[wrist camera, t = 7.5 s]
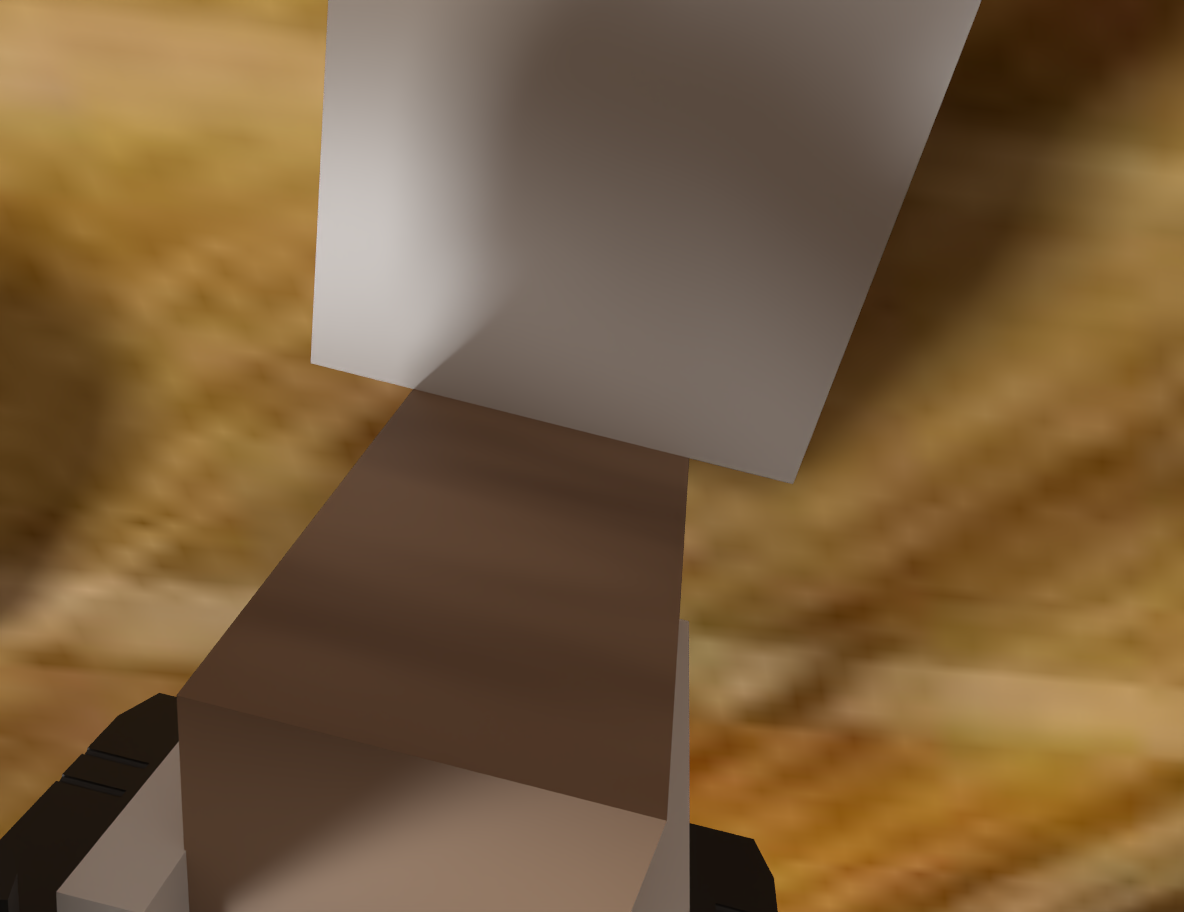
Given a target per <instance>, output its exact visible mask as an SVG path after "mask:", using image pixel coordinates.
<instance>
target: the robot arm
mask: <svg viewBox="0 0 1184 912" xmlns="http://www.w3.org/2000/svg"><path fill="white" fill-rule="evenodd" d="M0 912H189V897H188V879H187V861H186V851H185V850H184V838H183V817H182V796H181V776H180V755H179V734H178V713H177V697H174V696H170V695H166V694H162V693H158V694H157V695H155V696H153V697H151V698H149V699H148V700H146V701H144V702H142V703H140V704H139V705H137V706H135V707H133V708H131V709H129V710H128V711H126V712H124V713H122V714H120V715H119V716H117V717H116V718H115V719H114V721H113V722H112V723H111V724H110V725H109V726H108V727H107V728H106V729H105V730H104V731H103V732H102V733H101V734H100V735H99V736H98V737H97V738H96V739H95V741H94V742H93V743H92V744H91V745H90V746H89V747H88V749H87V752H86V753H85V755H84V754H81V755H80V756H79V757H78V758H77V759H76V761H75V762H74V763H73V764H72V765H71V766H70V767H69V768H68V769H67V770H66V771H65V772H64V773H63V774H62V778H61V780H60V781H59V782H58V781H56V782H55V783H54V784H53V785H52V786H51V787H50V788H49V789H48V790H47V791H46V792H45V793H44V794H43V795H42V796H41V797H40V798H39V799H38V801H37V802H36V803H35V804H34V805H33V806H32V807H31V808H30V809H29V810H28V811H27V812H26V813H25V814H24V815H23V816H22V817H21V818H20V819H19V821H18V822H17V823H16V824H15V825H14V826H13V827H12V828H11V829H10V830H9V831H8V832H7V833H6V834H5V835H4V836H3V837H2V838H1V839H0ZM631 912H778V911H777V902H776V893H775V884H774V877H773V876H772V874H771V872H770V870H769V868H768V866H767V864H766V862H765V860H764V858H763V856H762V854H761V853H760V851H759V849H758V847H757V845H756V843H755V841H754V839H751V838H747V837H743V836H739V835H735V834H731V833H727V832H723V831H719V830H715V829H711V828H707V827H703V826H699V825H695V824H691V823H689V621H686V620H682V619H679V631H678V648H677V664H676V680H675V697H674V713H673V729H672V746H671V762H670V778H669V795H668V811H667V822H666V824H665V827H664V829H663V832H662V835H661V837H660V840H659V842H658V845H657V847H656V850H655V852H654V855H653V857H652V860H651V862H650V865H649V868H648V870H647V873H646V875H645V878H644V880H643V883H642V885H641V888H640V890H639V893H638V895H637V898H636V900H635V903H634V906H633V908H632V911H631Z"/></svg>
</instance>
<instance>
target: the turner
mask: <svg viewBox="0 0 1184 912" xmlns="http://www.w3.org/2000/svg"><path fill="white" fill-rule="evenodd" d="M980 3H981V0H328V19H327V39H326V60H325V80H324V101H323V122H322V142H321V163H320V183H319V204H318V224H317V245H316V266H315V286H314V307H313V327H312V348H311V363H312V364H316V365H320V366H324V367H328V368H332V369H336V370H340V371H344V372H348V373H352V374H356V375H360V376H364V377H368V378H372V379H376V380H380V381H384V382H388V383H392V384H396V385H400V386H404V387H408V388H412V389H413V390H412V392H411V393H410V394H409V395H408V397H407V398H406V399H405V401H404V402H403V403H402V404H401V406H400V407H399V408H398V410H397V411H396V412H395V414H394V415H393V416H392V417H391V419H390V420H389V421H388V423H387V424H386V425H385V426H384V428H383V429H382V430H381V432H380V433H379V434H378V436H377V437H376V438H375V439H374V441H373V442H372V443H371V445H370V446H369V447H368V448H367V450H366V451H365V452H364V454H363V455H362V456H361V458H360V459H359V460H358V461H357V463H356V464H355V465H354V467H353V468H352V469H351V470H350V472H349V473H348V474H347V476H346V477H345V478H344V480H343V481H342V482H341V483H340V485H339V486H338V487H337V489H336V490H335V491H334V492H333V494H332V495H331V496H330V498H329V499H328V500H327V502H326V503H325V504H324V505H323V507H322V508H321V509H320V511H319V512H318V513H317V514H316V516H315V517H314V518H313V520H312V521H311V522H310V524H309V525H308V526H307V527H306V529H305V530H304V531H303V533H302V534H301V535H300V536H299V538H298V539H297V540H296V542H295V543H294V544H293V545H292V547H291V548H290V549H289V551H288V552H287V553H286V555H285V556H284V557H283V558H282V560H281V561H280V562H279V564H278V565H277V566H276V567H275V569H274V570H273V571H272V573H271V574H270V575H269V577H268V578H267V579H266V580H265V582H264V583H263V584H262V586H261V587H260V588H259V589H258V591H257V592H256V593H255V595H254V596H253V597H252V599H251V600H250V601H249V602H248V604H247V605H246V606H245V608H244V609H243V610H242V611H241V613H240V614H239V615H238V617H237V618H236V619H235V621H234V622H233V623H232V624H231V626H230V627H229V628H228V630H227V631H226V632H225V633H224V635H223V636H222V637H221V639H220V640H219V641H218V643H217V644H216V645H215V646H214V648H213V649H212V650H211V652H210V653H209V654H208V655H207V657H206V658H205V659H204V661H203V662H202V663H201V664H200V666H199V667H198V668H197V670H196V671H195V672H194V674H193V675H192V676H191V677H190V679H189V680H188V681H187V683H186V684H185V685H184V686H183V688H182V689H181V690H180V692H179V693H178V694H177V713H178V734H179V755H180V776H181V796H182V817H183V838H184V850H185V851H186V861H187V879H188V897H189V912H631V911H632V908H633V906H634V903H635V900H636V898H637V895H638V893H639V890H640V888H641V885H642V883H643V880H644V878H645V875H646V873H647V870H648V868H649V865H650V862H651V860H652V857H653V855H654V852H655V850H656V847H657V845H658V842H659V840H660V837H661V835H662V832H663V829H664V827H665V824H666V822H667V811H668V795H669V778H670V762H671V746H672V729H673V713H674V697H675V680H676V664H677V648H678V631H679V615H680V599H681V583H682V566H683V550H684V534H685V517H686V501H687V485H688V468H689V458H691V459H695V460H699V461H703V462H707V463H711V464H715V465H719V466H723V467H727V468H731V469H735V470H739V471H743V472H747V473H751V474H755V475H759V476H763V477H767V478H771V479H775V480H779V481H783V482H787V483H791V484H793V483H794V480H795V478H796V475H797V473H798V470H799V467H800V465H801V462H802V460H803V457H804V455H805V452H806V449H807V447H808V444H809V442H810V439H811V437H812V434H813V431H814V429H815V426H816V424H817V421H818V419H819V416H820V413H821V411H822V408H823V406H824V403H825V401H826V398H827V396H828V393H829V390H830V388H831V385H832V383H833V380H834V378H835V375H836V372H837V370H838V367H839V365H840V362H841V360H842V357H843V354H844V352H845V349H846V347H847V344H848V342H849V339H850V336H851V334H852V331H853V329H854V326H855V324H856V321H857V318H858V316H859V313H860V311H861V308H862V306H863V303H864V301H865V298H866V295H867V293H868V290H869V288H870V285H871V283H872V280H873V277H874V275H875V272H876V270H877V267H878V265H879V262H880V259H881V257H882V254H883V252H884V249H885V247H886V244H887V241H888V239H889V236H890V234H891V231H892V229H893V226H894V224H895V221H896V218H897V216H898V213H899V211H900V208H901V206H902V203H903V200H904V198H905V195H906V193H907V190H908V188H909V185H910V182H911V180H912V177H913V175H914V172H915V170H916V167H917V164H918V162H919V159H920V157H921V154H922V152H923V149H924V147H925V144H926V141H927V139H928V136H929V134H930V131H931V129H932V126H933V123H934V121H935V118H936V116H937V113H938V111H939V108H940V105H941V103H942V100H943V98H944V95H945V93H946V90H947V87H948V85H949V82H950V80H951V77H952V75H953V72H954V69H955V67H956V64H957V62H958V59H959V57H960V54H961V52H962V49H963V46H964V44H965V41H966V39H967V36H968V34H969V31H970V28H971V26H972V23H973V21H974V18H975V16H976V13H977V10H978V8H979V5H980Z"/></svg>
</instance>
